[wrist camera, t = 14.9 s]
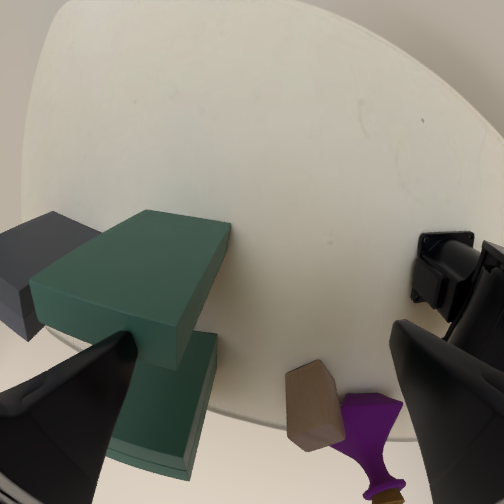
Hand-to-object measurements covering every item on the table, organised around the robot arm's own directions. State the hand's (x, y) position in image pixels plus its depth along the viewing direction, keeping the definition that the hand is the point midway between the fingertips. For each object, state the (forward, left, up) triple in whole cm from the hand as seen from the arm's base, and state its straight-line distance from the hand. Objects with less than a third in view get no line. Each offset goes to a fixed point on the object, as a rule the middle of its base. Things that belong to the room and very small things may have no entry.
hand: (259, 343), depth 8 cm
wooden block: (-4, +16, -13) cm, 21 cm away
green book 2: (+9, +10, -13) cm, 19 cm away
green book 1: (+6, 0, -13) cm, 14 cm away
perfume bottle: (-10, +22, -13) cm, 27 cm away
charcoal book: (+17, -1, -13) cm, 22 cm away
